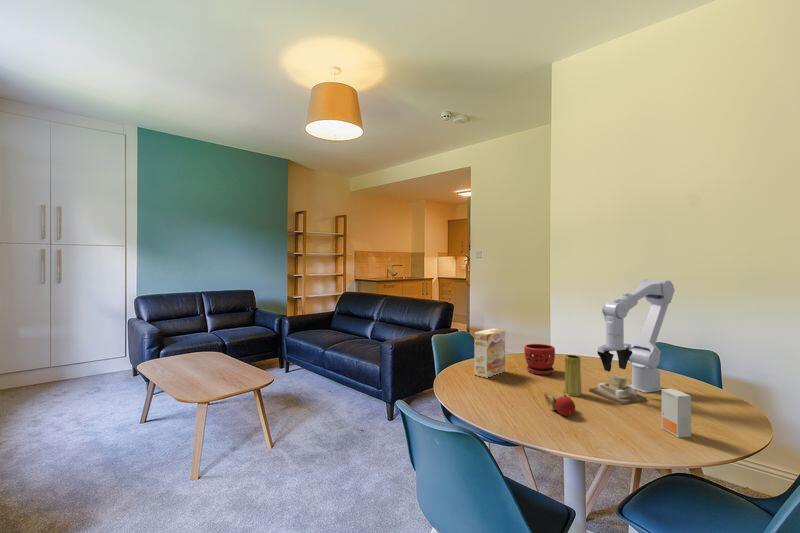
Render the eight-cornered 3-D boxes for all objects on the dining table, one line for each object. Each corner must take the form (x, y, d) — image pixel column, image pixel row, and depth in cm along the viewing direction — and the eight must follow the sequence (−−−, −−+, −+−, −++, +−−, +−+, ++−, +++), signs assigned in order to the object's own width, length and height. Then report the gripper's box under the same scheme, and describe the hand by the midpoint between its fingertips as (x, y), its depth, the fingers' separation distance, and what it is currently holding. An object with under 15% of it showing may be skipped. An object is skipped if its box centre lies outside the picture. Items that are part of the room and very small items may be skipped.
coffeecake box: (487, 379, 155) (487, 334, 154) (473, 375, 160) (473, 332, 160) (505, 372, 165) (505, 329, 164) (492, 368, 170) (492, 327, 170)
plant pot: (557, 370, 167) (557, 344, 167) (552, 378, 156) (552, 350, 156) (528, 366, 174) (527, 341, 174) (521, 373, 163) (521, 347, 163)
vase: (583, 397, 133) (583, 358, 133) (566, 396, 135) (566, 358, 134) (579, 391, 139) (578, 354, 139) (562, 390, 140) (562, 354, 140)
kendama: (535, 402, 133) (555, 415, 115) (537, 384, 133) (558, 395, 116) (556, 406, 132) (579, 420, 114) (558, 388, 133) (582, 400, 115)
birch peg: (617, 390, 137) (617, 375, 137) (626, 394, 133) (626, 378, 133) (608, 392, 136) (608, 376, 136) (618, 395, 132) (618, 379, 132)
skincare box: (660, 428, 108) (660, 388, 108) (673, 427, 108) (673, 388, 108) (678, 438, 102) (678, 396, 102) (691, 437, 102) (691, 395, 102)
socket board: (612, 387, 143) (612, 378, 143) (646, 400, 130) (646, 390, 130) (589, 391, 139) (589, 382, 139) (621, 404, 126) (621, 394, 126)
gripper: (609, 337, 130) (609, 374, 130) (638, 334, 134) (638, 370, 134) (593, 333, 136) (593, 369, 136) (621, 331, 141) (621, 365, 141)
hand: (614, 369), depth 136 cm, fingers open, 7 cm apart
